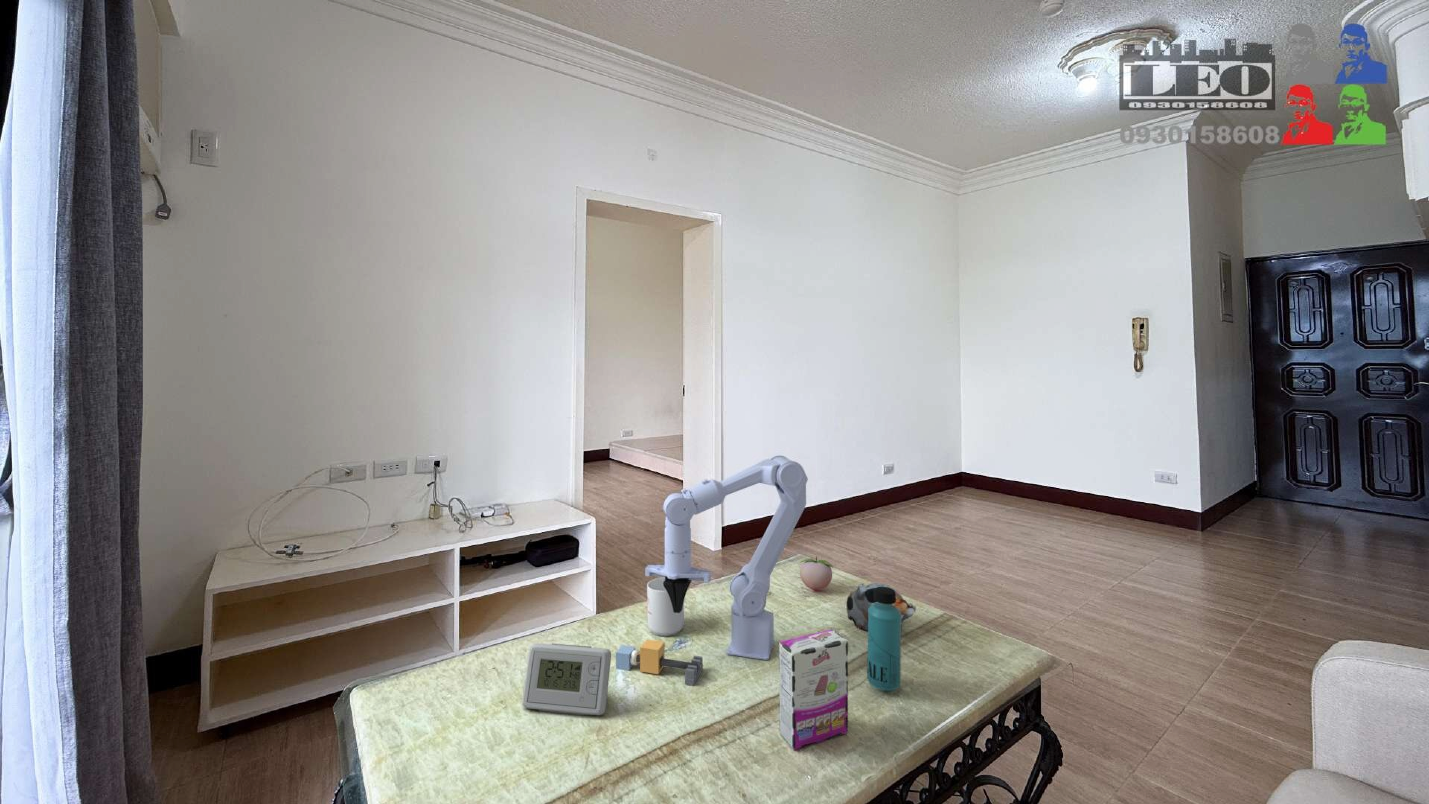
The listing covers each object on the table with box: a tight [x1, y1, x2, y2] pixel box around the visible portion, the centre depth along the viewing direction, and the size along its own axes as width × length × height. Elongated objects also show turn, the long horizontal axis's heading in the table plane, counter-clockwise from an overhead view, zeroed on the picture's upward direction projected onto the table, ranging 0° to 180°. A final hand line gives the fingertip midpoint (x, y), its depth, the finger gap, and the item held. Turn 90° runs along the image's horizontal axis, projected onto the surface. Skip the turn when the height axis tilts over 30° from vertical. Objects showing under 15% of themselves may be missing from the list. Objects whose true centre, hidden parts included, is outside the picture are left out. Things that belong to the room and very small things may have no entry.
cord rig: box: [615, 644, 704, 686], centre depth 111 cm, size 18×6×3 cm, turn 74°
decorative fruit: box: [799, 556, 834, 592], centre depth 152 cm, size 9×8×10 cm
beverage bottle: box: [866, 587, 902, 691], centre depth 104 cm, size 6×7×20 cm
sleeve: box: [639, 639, 666, 675], centre depth 111 cm, size 4×4×5 cm
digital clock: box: [521, 643, 612, 716], centre depth 99 cm, size 16×9×11 cm, turn 70°
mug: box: [646, 577, 685, 637], centre depth 131 cm, size 12×9×11 cm
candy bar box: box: [778, 628, 849, 751], centre depth 91 cm, size 11×5×16 cm, turn 114°
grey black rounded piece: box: [845, 582, 916, 632], centre depth 130 cm, size 15×12×14 cm
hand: (677, 610), depth 117 cm, fingers closed
